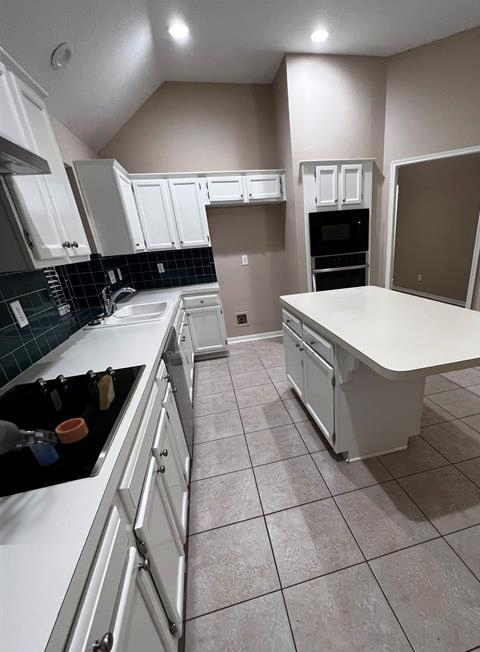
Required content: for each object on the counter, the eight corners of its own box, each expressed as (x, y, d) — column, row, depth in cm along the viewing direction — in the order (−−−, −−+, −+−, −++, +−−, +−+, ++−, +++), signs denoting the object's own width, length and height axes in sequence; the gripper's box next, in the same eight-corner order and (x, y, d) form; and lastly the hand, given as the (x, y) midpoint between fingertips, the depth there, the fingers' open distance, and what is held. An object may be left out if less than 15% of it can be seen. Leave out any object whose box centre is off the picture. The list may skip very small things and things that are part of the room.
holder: (56, 438, 95) (51, 428, 94) (82, 425, 101) (77, 415, 99) (66, 446, 91) (61, 435, 90) (92, 433, 97) (88, 422, 95)
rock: (109, 406, 106) (127, 388, 114) (87, 389, 103) (107, 372, 111) (96, 419, 111) (114, 401, 119) (75, 404, 109) (95, 386, 117)
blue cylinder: (37, 462, 86) (24, 439, 82) (55, 453, 89) (43, 430, 86) (43, 468, 83) (29, 444, 80) (61, 458, 87) (49, 435, 83)
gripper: (22, 413, 70) (67, 425, 85) (-48, 423, 68) (10, 434, 83) (18, 447, 67) (65, 453, 82) (-55, 459, 66) (7, 463, 81)
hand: (38, 444), depth 83 cm, fingers open, 8 cm apart
